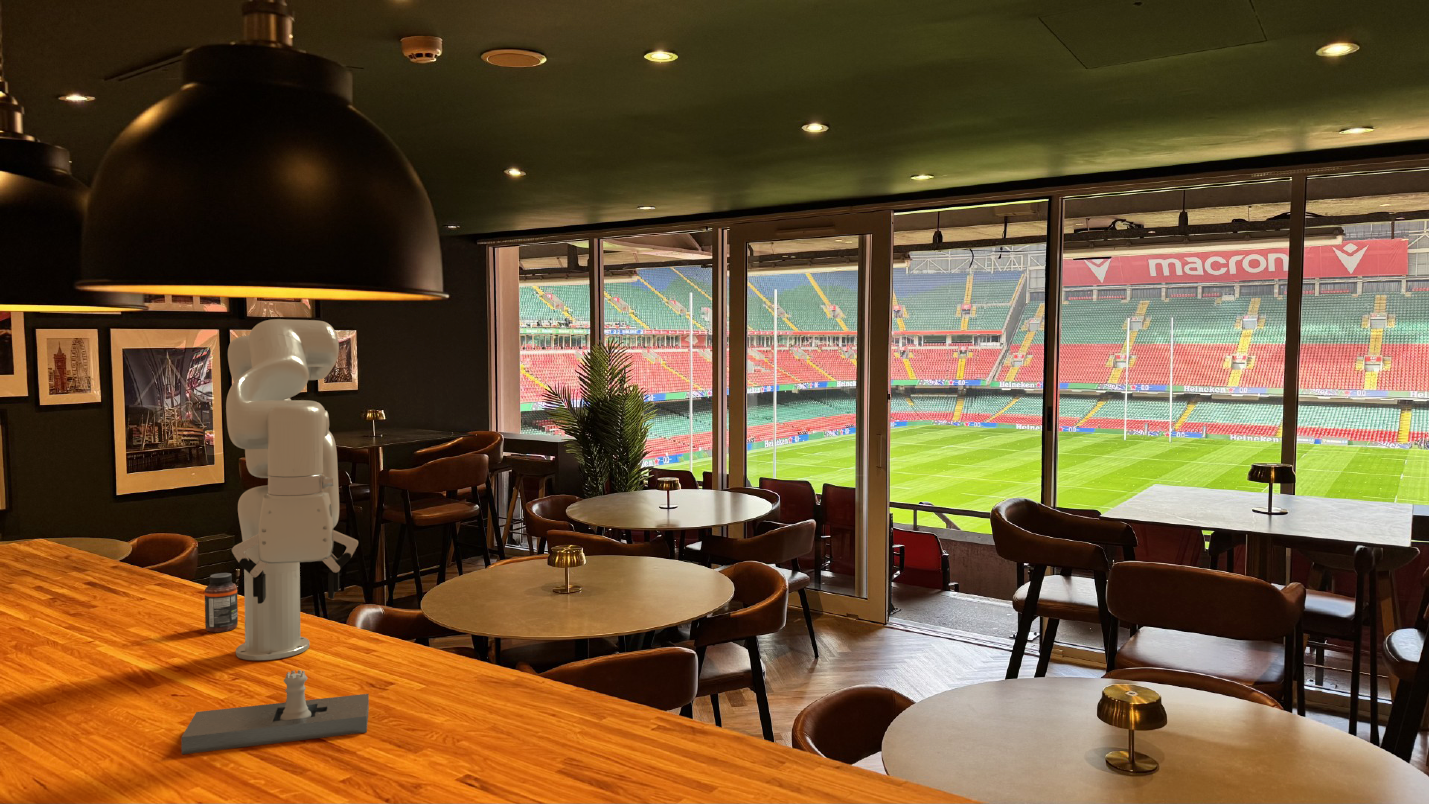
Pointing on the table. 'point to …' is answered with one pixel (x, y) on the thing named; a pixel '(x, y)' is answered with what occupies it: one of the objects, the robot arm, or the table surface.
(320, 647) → the table surface
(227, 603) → the supplement bottle
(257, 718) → the pocket plate
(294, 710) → the rook chess piece
